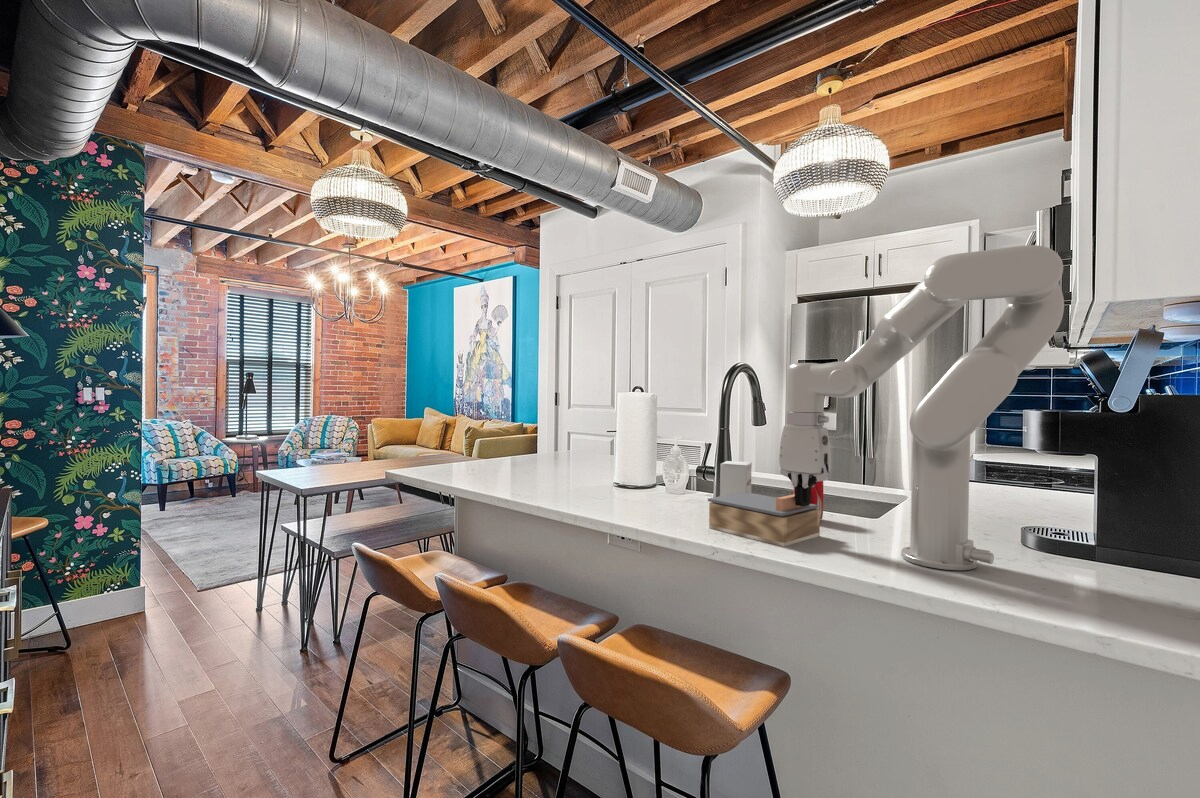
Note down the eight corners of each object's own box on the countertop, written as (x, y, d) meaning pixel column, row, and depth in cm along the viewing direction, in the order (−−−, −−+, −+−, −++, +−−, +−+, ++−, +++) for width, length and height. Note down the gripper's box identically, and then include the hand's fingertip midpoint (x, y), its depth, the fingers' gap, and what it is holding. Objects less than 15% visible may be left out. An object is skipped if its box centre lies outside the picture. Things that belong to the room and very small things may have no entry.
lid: (817, 507, 128) (818, 493, 128) (782, 516, 119) (782, 501, 119) (744, 494, 143) (744, 481, 143) (707, 501, 134) (707, 487, 134)
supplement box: (746, 512, 152) (747, 465, 151) (718, 509, 155) (719, 463, 154) (751, 507, 158) (752, 461, 158) (725, 504, 161) (725, 460, 161)
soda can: (827, 523, 139) (828, 474, 139) (798, 523, 139) (799, 474, 139) (817, 517, 146) (817, 470, 146) (789, 516, 146) (790, 470, 146)
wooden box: (819, 536, 127) (819, 509, 127) (783, 546, 119) (784, 518, 119) (745, 519, 143) (745, 495, 143) (709, 528, 134) (709, 502, 134)
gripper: (847, 422, 119) (844, 509, 119) (783, 418, 130) (782, 497, 131) (828, 423, 114) (826, 514, 115) (764, 419, 126) (762, 501, 126)
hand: (802, 505), depth 123 cm, fingers closed
